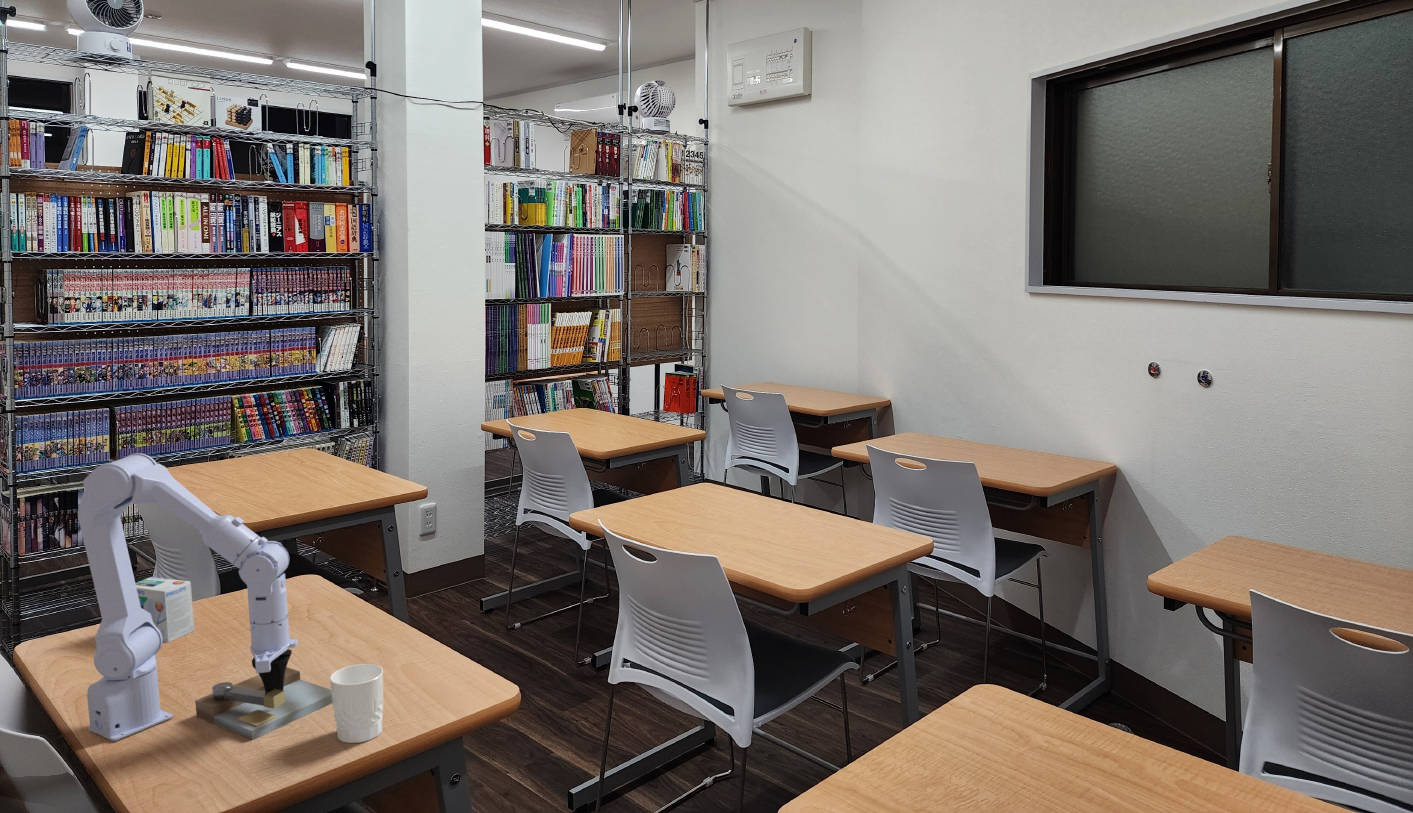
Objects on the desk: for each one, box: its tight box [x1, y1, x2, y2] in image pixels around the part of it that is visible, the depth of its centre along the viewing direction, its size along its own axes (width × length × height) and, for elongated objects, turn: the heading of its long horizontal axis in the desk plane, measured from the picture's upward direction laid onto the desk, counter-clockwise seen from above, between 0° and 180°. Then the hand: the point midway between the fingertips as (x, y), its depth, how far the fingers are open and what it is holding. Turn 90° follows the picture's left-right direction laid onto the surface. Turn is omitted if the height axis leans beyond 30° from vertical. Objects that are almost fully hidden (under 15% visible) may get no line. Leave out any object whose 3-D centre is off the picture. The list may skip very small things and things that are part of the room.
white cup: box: [329, 663, 384, 744], centre depth 148 cm, size 8×8×10 cm
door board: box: [194, 666, 333, 741], centre depth 157 cm, size 16×15×3 cm
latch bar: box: [211, 681, 285, 709], centre depth 153 cm, size 13×3×2 cm, turn 73°
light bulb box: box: [135, 576, 195, 643], centre depth 190 cm, size 11×7×11 cm, turn 73°
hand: (274, 696), depth 154 cm, fingers closed, pressing on latch bar
